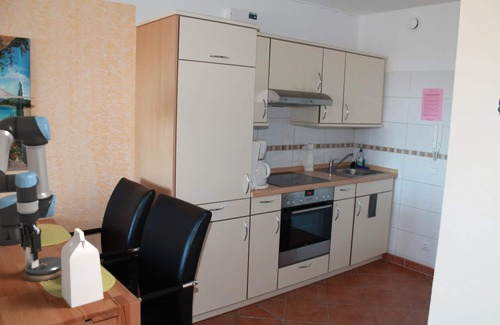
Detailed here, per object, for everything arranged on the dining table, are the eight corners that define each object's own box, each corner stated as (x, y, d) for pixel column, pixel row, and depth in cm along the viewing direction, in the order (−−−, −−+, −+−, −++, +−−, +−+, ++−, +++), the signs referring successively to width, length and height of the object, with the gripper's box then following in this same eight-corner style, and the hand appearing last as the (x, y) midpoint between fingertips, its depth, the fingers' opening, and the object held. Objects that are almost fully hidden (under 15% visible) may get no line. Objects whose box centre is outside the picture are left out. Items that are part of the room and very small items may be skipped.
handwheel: (56, 258, 190) (54, 234, 189) (71, 268, 180) (69, 243, 179) (20, 268, 180) (18, 243, 178) (34, 279, 170) (32, 252, 168)
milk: (103, 298, 159) (100, 231, 155) (71, 308, 152) (67, 238, 148) (92, 287, 168) (89, 223, 164) (61, 295, 161) (57, 229, 157)
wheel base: (55, 262, 192) (55, 257, 192) (75, 272, 182) (75, 268, 181) (16, 274, 179) (15, 269, 179) (34, 286, 169) (34, 281, 168)
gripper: (48, 212, 170) (52, 268, 174) (26, 205, 179) (30, 258, 183) (30, 217, 164) (34, 274, 168) (8, 209, 173) (12, 263, 177)
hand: (32, 265), depth 176 cm, fingers open, 4 cm apart
